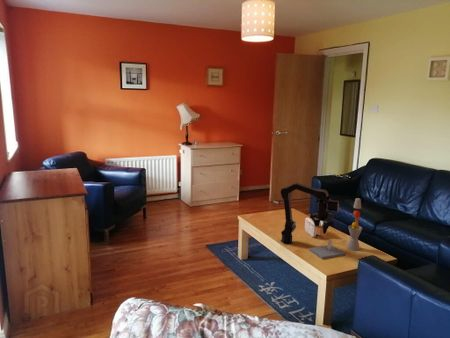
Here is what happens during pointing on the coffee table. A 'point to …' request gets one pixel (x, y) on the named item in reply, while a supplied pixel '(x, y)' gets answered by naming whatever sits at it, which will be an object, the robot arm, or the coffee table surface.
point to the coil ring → (320, 230)
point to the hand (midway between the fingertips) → (321, 231)
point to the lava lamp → (355, 228)
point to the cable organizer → (311, 227)
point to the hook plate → (327, 251)
